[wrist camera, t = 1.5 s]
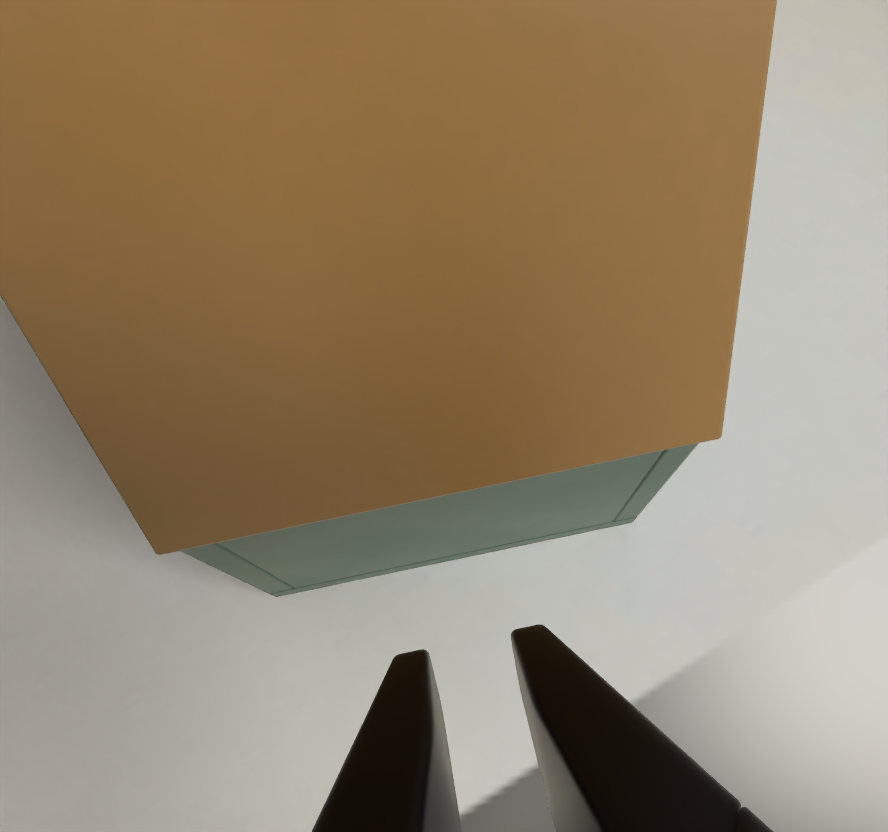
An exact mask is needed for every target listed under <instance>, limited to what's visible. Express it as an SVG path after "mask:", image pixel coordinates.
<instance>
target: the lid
mask: <svg viewBox="0 0 888 832" xmlns="http://www.w3.org/2000/svg"><path fill="white" fill-rule="evenodd" d="M776 2H777V0H0V295H1V297H2V299H3V300H4V302H5V304H6V305H7V307H8V309H9V310H10V312H11V314H12V315H13V317H14V319H15V320H16V322H17V324H18V325H19V327H20V329H21V330H22V332H23V333H24V335H25V337H26V338H27V340H28V342H29V343H30V345H31V347H32V348H33V350H34V352H35V353H36V355H37V357H38V358H39V360H40V362H41V363H42V365H43V367H44V368H45V370H46V372H47V373H48V375H49V377H50V378H51V380H52V382H53V383H54V385H55V387H56V388H57V390H58V392H59V393H60V395H61V397H62V398H63V400H64V402H65V403H66V405H67V407H68V408H69V410H70V412H71V413H72V415H73V417H74V418H75V420H76V422H77V423H78V425H79V427H80V428H81V430H82V432H83V433H84V435H85V437H86V438H87V440H88V442H89V443H90V445H91V446H92V448H93V450H94V451H95V453H96V455H97V456H98V458H99V460H100V461H101V463H102V465H103V466H104V468H105V470H106V471H107V473H108V475H109V476H110V478H111V480H112V481H113V483H114V485H115V486H116V488H117V490H118V491H119V493H120V495H121V496H122V498H123V500H124V501H125V503H126V505H127V506H128V508H129V510H130V511H131V513H132V515H133V516H134V518H135V520H136V521H137V523H138V525H139V526H140V528H141V530H142V531H143V533H144V535H145V536H146V538H147V540H148V541H149V543H150V545H151V546H152V548H153V550H154V551H155V553H156V554H158V555H161V554H166V553H171V552H176V551H180V550H185V549H190V548H195V547H200V546H205V545H209V544H214V543H219V542H224V541H229V540H233V539H238V538H243V537H248V536H253V535H257V534H262V533H267V532H272V531H277V530H282V529H286V528H291V527H296V526H301V525H306V524H310V523H315V522H320V521H325V520H330V519H335V518H339V517H344V516H349V515H354V514H359V513H363V512H368V511H373V510H378V509H383V508H387V507H392V506H397V505H402V504H407V503H412V502H416V501H421V500H426V499H431V498H436V497H440V496H445V495H450V494H455V493H460V492H465V491H469V490H474V489H479V488H484V487H489V486H493V485H498V484H503V483H508V482H513V481H517V480H522V479H527V478H532V477H537V476H542V475H546V474H551V473H556V472H561V471H566V470H570V469H575V468H580V467H585V466H590V465H595V464H599V463H604V462H609V461H614V460H619V459H623V458H628V457H633V456H638V455H643V454H647V453H652V452H657V451H662V450H667V449H672V448H676V447H681V446H686V445H691V444H696V443H700V442H705V441H710V440H715V439H719V438H720V437H721V436H722V428H723V420H724V412H725V404H726V397H727V389H728V381H729V373H730V365H731V357H732V349H733V341H734V333H735V326H736V318H737V310H738V302H739V294H740V286H741V278H742V270H743V263H744V255H745V247H746V239H747V231H748V223H749V215H750V207H751V199H752V192H753V184H754V176H755V168H756V160H757V152H758V144H759V136H760V128H761V121H762V113H763V105H764V97H765V89H766V81H767V73H768V65H769V58H770V50H771V42H772V34H773V26H774V18H775V10H776Z"/></svg>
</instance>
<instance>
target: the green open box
mask: <svg viewBox="0 0 888 832" xmlns="http://www.w3.org/2000/svg"><path fill="white" fill-rule="evenodd" d="M697 445H698V443H696V444H691V445H686V446H681V447H676V448H672V449H667V450H662V451H657V452H652V453H647V454H643V455H638V456H633V457H628V458H623V459H619V460H614V461H609V462H604V463H599V464H595V465H590V466H585V467H580V468H575V469H570V470H566V471H561V472H556V473H551V474H546V475H542V476H537V477H532V478H527V479H522V480H517V481H513V482H508V483H503V484H498V485H493V486H489V487H484V488H479V489H474V490H469V491H465V492H460V493H455V494H450V495H445V496H440V497H436V498H431V499H426V500H421V501H416V502H412V503H407V504H402V505H397V506H392V507H387V508H383V509H378V510H373V511H368V512H363V513H359V514H354V515H349V516H344V517H339V518H335V519H330V520H325V521H320V522H315V523H310V524H306V525H301V526H296V527H291V528H286V529H282V530H277V531H272V532H267V533H262V534H257V535H253V536H248V537H243V538H238V539H233V540H229V541H224V542H219V543H214V544H209V545H205V546H200V547H195V548H190V549H185V550H180V551H182V552H184V553H186V554H188V555H190V556H192V557H194V558H196V559H198V560H200V561H203V562H205V563H207V564H209V565H211V566H213V567H215V568H217V569H219V570H221V571H223V572H225V573H227V574H230V575H232V576H234V577H236V578H238V579H240V580H242V581H244V582H246V583H248V584H250V585H252V586H255V587H257V588H259V589H261V590H263V591H265V592H267V593H270V594H271V595H273V596H276V597H278V596H283V595H288V594H293V593H298V592H302V591H307V590H312V589H317V588H321V587H326V586H331V585H336V584H340V583H345V582H350V581H355V580H360V579H364V578H369V577H374V576H379V575H383V574H388V573H393V572H398V571H402V570H407V569H412V568H417V567H421V566H426V565H431V564H436V563H441V562H445V561H450V560H455V559H460V558H464V557H469V556H474V555H479V554H483V553H488V552H493V551H498V550H503V549H507V548H512V547H517V546H522V545H526V544H531V543H536V542H541V541H545V540H550V539H555V538H560V537H565V536H569V535H574V534H579V533H584V532H588V531H593V530H598V529H603V528H607V527H612V526H617V525H622V524H626V523H631V522H633V521H634V520H635V519H636V517H637V516H638V515H639V514H640V513H641V511H642V510H643V509H644V508H645V507H646V505H647V504H648V503H649V502H650V501H651V499H652V498H653V497H654V496H655V495H656V493H657V492H658V491H659V490H660V489H661V487H662V486H663V485H664V484H665V483H666V482H667V480H668V479H669V478H670V477H671V476H672V474H673V473H674V472H675V471H676V470H677V468H678V467H679V466H680V465H681V464H682V462H683V461H684V460H685V459H686V458H687V457H688V455H689V454H690V453H691V452H692V451H693V449H694V448H695V447H696V446H697Z"/></svg>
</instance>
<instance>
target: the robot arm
mask: <svg viewBox="0 0 888 832" xmlns="http://www.w3.org/2000/svg"><path fill="white" fill-rule="evenodd" d="M511 641H512V647H513V652H514V658H515V664H516V669H517V675H518V680H519V685H520V690H521V695H522V699H523V703H524V707H525V711H526V715H527V720H528V724H529V728H530V732H531V736H532V740H533V744H534V748H535V752H536V756H537V760H538V764H539V769H540V773H541V777H542V781H543V785H544V789H545V793H546V797H547V801H548V805H549V808H550V812H551V815H552V819H553V822H554V825H555V828H556V831H557V832H773V831H772V830H770V829H769V828H768V827H767V826H766V825H765V824H764V823H763V822H762V821H761V820H760V819H759V818H757V817H756V816H755V815H754V814H753V813H752V812H751V811H750V810H749V809H747V808H746V807H742V808H741V804H740V802H739V801H738V800H737V799H736V798H735V797H734V796H733V795H732V794H730V793H729V792H728V791H727V790H726V789H725V788H724V787H723V786H721V785H720V784H719V783H718V782H717V781H716V780H715V779H714V778H713V777H711V776H710V775H709V774H708V773H707V772H706V771H705V770H704V769H703V768H701V767H700V766H699V765H698V764H697V763H696V762H695V761H694V760H693V759H692V758H690V757H689V756H688V755H687V754H686V753H685V752H684V751H683V750H682V749H681V748H679V747H678V746H677V745H676V744H675V743H674V742H673V741H672V740H670V739H669V738H668V737H667V736H666V735H665V734H664V733H663V732H662V731H660V730H659V729H658V728H657V727H656V726H655V725H654V724H653V723H652V722H651V721H649V720H648V719H647V718H646V717H645V716H644V715H643V714H641V712H639V711H638V710H637V709H636V708H635V707H634V706H633V705H632V704H631V703H629V702H628V701H627V700H626V699H625V698H624V697H623V696H622V695H621V694H619V693H618V692H617V691H616V690H615V689H614V688H613V687H612V686H611V685H610V684H608V683H607V682H606V681H605V680H604V679H603V678H602V677H601V676H600V675H598V674H597V673H596V672H595V671H594V670H593V669H592V668H591V667H590V666H588V665H587V664H586V663H585V662H584V661H583V660H582V659H581V658H580V657H578V656H577V655H576V654H575V653H574V652H573V651H572V650H571V649H570V648H568V647H567V646H566V645H565V644H564V643H563V642H562V641H561V640H560V639H558V638H557V637H556V636H555V635H554V634H553V633H552V632H551V631H550V630H549V629H547V628H546V627H545V626H543V625H534V626H530V627H525V628H520V629H516V630H514V631H513V632H512V634H511ZM312 832H461V825H460V818H459V811H458V805H457V799H456V792H455V786H454V780H453V774H452V767H451V761H450V755H449V749H448V742H447V736H446V730H445V724H444V717H443V712H442V706H441V701H440V697H439V693H438V689H437V685H436V680H435V676H434V672H433V668H432V664H431V660H430V656H429V653H428V652H427V651H426V650H417V651H412V652H408V653H403V654H399V655H397V656H396V657H394V659H393V661H392V663H391V665H390V667H389V669H388V671H387V673H386V675H385V677H384V680H383V682H382V684H381V686H380V688H379V690H378V692H377V694H376V696H375V699H374V701H373V703H372V705H371V707H370V709H369V711H368V713H367V716H366V718H365V720H364V722H363V724H362V726H361V728H360V730H359V733H358V735H357V737H356V739H355V741H354V743H353V745H352V747H351V749H350V752H349V754H348V756H347V758H346V760H345V762H344V764H343V766H342V769H341V771H340V773H339V775H338V777H337V779H336V781H335V783H334V785H333V788H332V790H331V792H330V794H329V796H328V798H327V800H326V802H325V805H324V807H323V809H322V811H321V813H320V815H319V817H318V819H317V821H316V824H315V826H314V828H313V830H312Z"/></svg>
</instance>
